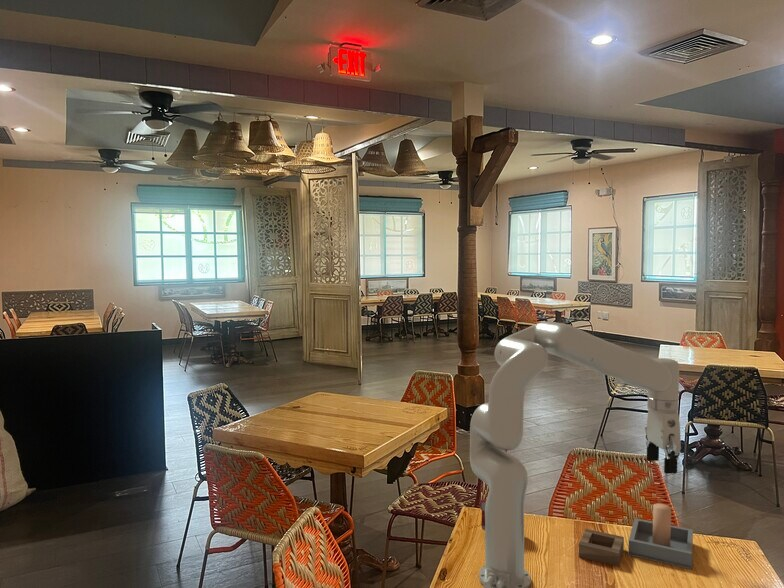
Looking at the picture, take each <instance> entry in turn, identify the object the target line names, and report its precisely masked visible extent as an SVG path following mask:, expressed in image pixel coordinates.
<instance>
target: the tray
mask: <svg viewBox="0 0 784 588" xmlns="http://www.w3.org/2000/svg"><path fill="white" fill-rule="evenodd" d="M652 539H653V520H652V521H650V520H645V519H640V518H636V517H635V518H634V520H633V523H632V526H631V530H630V535H629V538H628V552H627V553H628V554H627V555H628V556H633V557H636V558H641V559H645V560H648V561H655V562H659V563H663V564H667V565H673V566H676V567H681V568H683V569H684V568H685V569H689V570H693V552H694V551H693V548H694V545H693V543H694V529H693V528H686V527H681V526H677V525H672V524H671V537H670V547H667V546H662V545H658V544H653V543H652ZM692 551H693V552H692Z"/></svg>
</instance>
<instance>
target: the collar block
mask: <svg viewBox="0 0 784 588" xmlns="http://www.w3.org/2000/svg"><path fill="white" fill-rule="evenodd" d="M624 537H625V536H621V535H617V534H612V533H607V532H602V531H598V530H594V529H588V528H585V529H584V532H583V534H582V536H581V539H580V541H579V543H578V558H582V559H585V560H590V561H594V562H599V563H602V564H607V565H611V566H614V567H619V566H620V563H621V561H622V557H623V553H624V546H625V544H624V543H625V538H624Z"/></svg>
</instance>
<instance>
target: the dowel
mask: <svg viewBox="0 0 784 588" xmlns="http://www.w3.org/2000/svg"><path fill="white" fill-rule="evenodd" d="M652 506H653V507H652V508H653V509H652V522H653V539H652V543H653V544H658V545H662V546H667V547H670V537H671V525H672V508H671V506H670V505H668V504H664V503H654V504H653V505H652Z"/></svg>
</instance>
